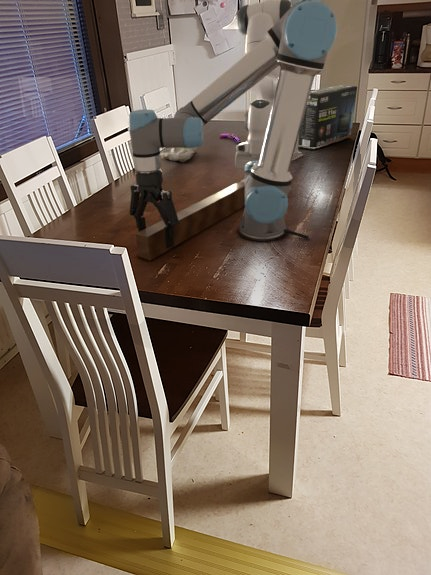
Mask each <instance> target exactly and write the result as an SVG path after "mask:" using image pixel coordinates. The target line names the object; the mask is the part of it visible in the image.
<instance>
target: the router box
mask: <svg viewBox="0 0 431 575" xmlns="http://www.w3.org/2000/svg"><path fill="white" fill-rule="evenodd" d="M357 93H358V86H356V85H350V84H339V85H338V84H337V85H334V86H328V87H324V88H318V89H314V90H311V91H310V95H309V99H308V102H307V106H306V110H305V113H304V117H303V121H302V124H301V128H300V132H299V135H298V139H297V144H298V145H302V146H307V147H317V146H320V145H323V144H325V143H328V142H331V141H333V140H336V139H338V138H341V137H344V136H347V135H351V136H352V133H353V132H352V131H353V125H354V115H355V109H356V99H357ZM311 151H313V150H312V149H311Z"/></svg>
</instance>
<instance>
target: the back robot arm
mask: <svg viewBox="0 0 431 575" xmlns="http://www.w3.org/2000/svg"><path fill="white" fill-rule="evenodd" d="M292 6H293V3H292V2H291V1H290V0H264V1H261V2H255V3H253V4H245V5H243V6H241V7H240V8H239V10H238V11H237V16H236V25H237V29H238V32H239V33H240V34H241V35H242V36H245V55H246V54H247V53H248V52H250V51H251V50H252V49H253V48H254V47H256V46H257V45H258V44H259V43H260V42H262V41H263V40H264V39H265V36H266V32H267V31H268V30H270V29H271V28H272V27H273V26H274V25H275V24H276V23H277V22H278V21H279V20H280V19H281V18H282V17H283V16H284V14H285V13H286V12H287V11H288V10H289V9H290V8H291V7H292ZM279 73H280V66H278V67H277V68H275V69H274V70H273V71H272V72H270V73H269V74H268V75H267V76H265V77H264V78H263V79H261V80H260V81H259V82H258V83H256V84H255V85H254V86H253V87H251V88H250V89H249V92H250V93H251V94H252V95H253V96H254V97H255V99H254V100H252V101H251V102H249V106H248V109H247V110H246V111H245V113H244V129H245V130H246V131H247V132H248V136H247V140H246V141H244V142H241V143H240V144H239V143H238V144H237V145H236V146H235V149H236V152H235V154H234V155H235V157H234V167H235V169H236V170H242V171H244V170H245V164H246V163H248V162H251V161H257V160H259V159H260V154H261V150H262V146H263V142H264V137H265V133H266V129H267V125H268V120H269V116H270V112H271V107H272V103H273V99H274V95H275V90H276V86H277V82H278V78H279ZM297 152H298V153H302V152H301V151H299V147H298V142H297V143H296V146H295V150H294V154H295V153H297ZM303 156H304V153H303V154H302V155H300V156H298V157H296V158H294V159H292V161H291V162H293V161H295V160H297V159H299V158H301V157H303Z"/></svg>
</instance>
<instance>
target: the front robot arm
mask: <svg viewBox="0 0 431 575" xmlns="http://www.w3.org/2000/svg"><path fill="white" fill-rule="evenodd" d="M337 34H338V22H337V19H336V16H335V14H334V11H333V10H332V9H331V8H330V6H328V4H326V3H324V2H323V1H319V0H301V1H299V2H297V3H294V4H292V7H291V8H290V9H289V10H288V11H287V12H286V13H285V14H284V16H283V17H282V18H281V19H280V20H279V21H278V22H277V23H276V24H275V25H274V26H273V27H272V28H271V29H270V30H268V31H267V32H266V36H265V39H264V40H263V41H262V42H260V43H259V44H258V45H257V46H256V47H254V48H253V49H252V50H251V51H250V52H248V53H247V54H246V53H245V54H244V55H243V56H242V57H241V58H240V59H239V60H238V61H237V62H235V63H234V64H232V66H230V67H229V68H228V69H227V70H226V71H224V73H222V74H221V75H219V76H218V77H217V78H216V79H215V80H213V82H211V83H210V84H208V86H207V87H205V88H204V89H203V90H202V91H200V93H199V94H197V95H196V96H195V97H194V98H192V99H191V101H188V102H187V103H186V104H185V105H184V106H182V107H180V108H179V109H178V110H176V112H175V114H174V116H173V117H162V118H161V117H158V114H157V112H156V111H155V110H154V109H148V108H147V109H145V108H144V109H136V110H133V111H131V112H130V113H129V114H128V128H129V129H128V132H129V138H130V142H131V143H130V144H131V151H132V152H131V153H132V161H133V169H134V170H135V172H134V176H135V184H132V185H130V186H129V187H130V194H131V195H130V203H129V215H130V216H133V217H134V220H135V224H136V228H137V233H138V232H140V231H142V230H144V229H146V228H147V224H146V217H145V216H144V213H145V210H146V207H147V206H148V203H151V204H152V205H153V206H154V207H155V208H156V209H157V211H158V213H159V215H160V217H161V220H163V221H164V223H165V225H166V226H165V227H164V232H165V242H166V248H169V247H171V246H173V245H174V240H173V236H174V226H176V225H178V224H179V220H178V217H177V214H176V213H177V211H176V207H175V204H174V201H173V193H172V191H171V190H164V189H163V187H162V184H163V182H164V177H163V170H162V169H161V168H162V159H161V158H162V156H161V149H167V148H168V149H169V148H170V149H172V148H183V147H187V148H192V147H196V148H199V147H201V146H203V144H204V127H205V126H206V124H208V123H209V122H211V121H212V120H213V119H214V118H216V116H218V115H219V114H221V113H222V112H223V111H224V110H225V109H226V108H228V107H229V106H230V105H231V104H232V103H235V101H236V100H238V99H239V98H240V97H241V96H243V95H244V94H245V93H246V92H248V91H250V88H251V87H253V86H254V85H255V84H256V83H258V82H259V81H260V80H261V79H263V78H264V77H265V76H267V75H268V74H269V73H270V72H272V71H273V70H274V69H275V68H277V67H278V66H280V73H279V78H278V82H277V86H276V90H275V95H274V99H273V103H272V107H271V112H270V116H269V120H268V125H267V129H266V133H265V137H264V142H263V146H262V150H261V154H260V159H259V160H257V161H251V162H248V163H246V164H245V170H243V174H244V179H245V202H244V204H245V206H244V211H243V213H242V216H241V217H240V222H239V226H238V232H239V235H240V236H241V237H242V238H244V239H247V240H250V241H254V242H271V241H277V240H279V239H281V238H283V237H285V235H286V234H288V235H289V234H290V235H293V236H297V237H299V238H303V239H306V240H307V239H309V235H307V234H304V233H301V232H297V231H293V230H290V229H287V223H286V221H285V214H286V213H287V211H288V208H289V198H288V196H289V194H290V189H291V187H292V182H293V178H294V177H293V175H292V173H291V171H290V168H291V165H292V162H293V161H292V157H293V154H294V150H295V146H296V143H297V144H298V136H299V132H300V128H301V124H302V121H303V117H304V113H305V110H306V106H307V102H308V99H309V95H310V91H312V88H313V84H314V80H315V77H316V76H317V75H318V74H320V73H321V72H323V71H324V68H325V65H326V64H325V63H326V60H327V57H328V54H329V51H330V50H331V49H332V47H333V45H334V43H335V41H336V38H337Z"/></svg>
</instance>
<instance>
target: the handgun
mask: <svg viewBox="0 0 431 575" xmlns="http://www.w3.org/2000/svg"><path fill="white" fill-rule="evenodd" d="M231 133H232V132H230V134H231ZM230 134H229V133H221V134H220V138H228V139H232V140H235V139H236V140H237V141H241V139H239V137H238V136H236V135H235V133H233V134H232V135H231V136H233V135H235V136H236V137H235V136H233V137H235V139H233V138H232V137H228V136H221V135H230ZM236 140H235V141H236ZM237 141H236V142H237ZM241 143H242V141H241V142H239V143H238V145H239V144H241Z"/></svg>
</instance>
